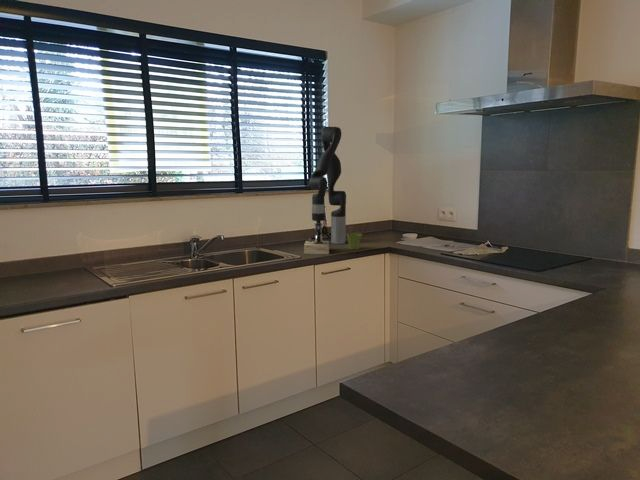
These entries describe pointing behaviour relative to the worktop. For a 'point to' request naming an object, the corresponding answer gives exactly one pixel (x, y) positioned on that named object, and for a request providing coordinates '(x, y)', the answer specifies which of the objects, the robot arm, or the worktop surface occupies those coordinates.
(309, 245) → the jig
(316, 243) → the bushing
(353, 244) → the plant pot
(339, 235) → the robot arm
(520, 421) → the worktop surface
